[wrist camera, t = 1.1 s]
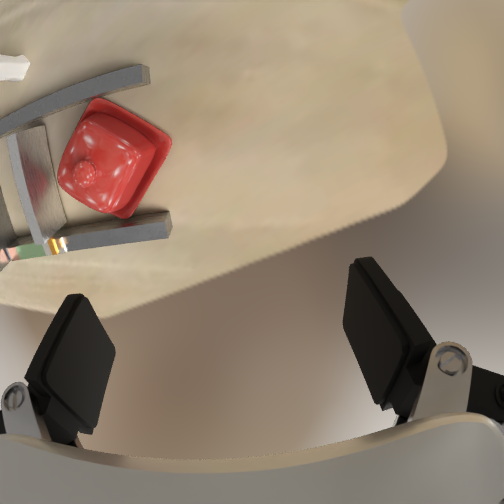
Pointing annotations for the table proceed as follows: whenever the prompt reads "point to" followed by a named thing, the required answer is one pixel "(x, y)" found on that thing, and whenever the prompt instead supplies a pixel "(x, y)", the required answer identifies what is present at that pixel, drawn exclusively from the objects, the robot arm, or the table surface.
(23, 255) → the grey open box
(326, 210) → the table surface
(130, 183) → the butter dish
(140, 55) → the table surface
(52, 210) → the brushed metal plate
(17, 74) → the perfume bottle
